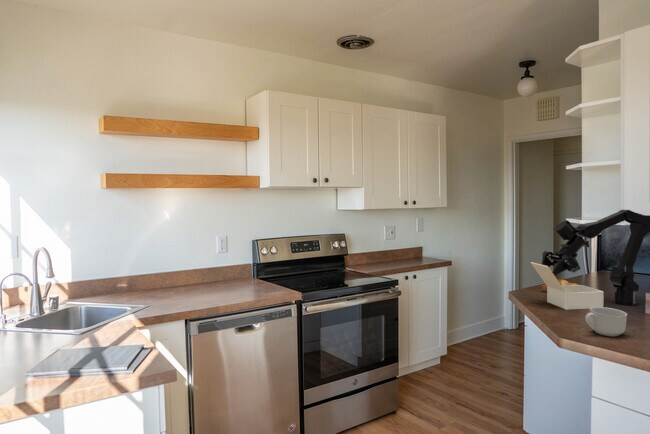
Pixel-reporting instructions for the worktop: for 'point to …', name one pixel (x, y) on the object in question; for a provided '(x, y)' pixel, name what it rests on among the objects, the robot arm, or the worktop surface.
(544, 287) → the croissant
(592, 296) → the carton
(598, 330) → the teacup
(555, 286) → the flap
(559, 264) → the robot arm
